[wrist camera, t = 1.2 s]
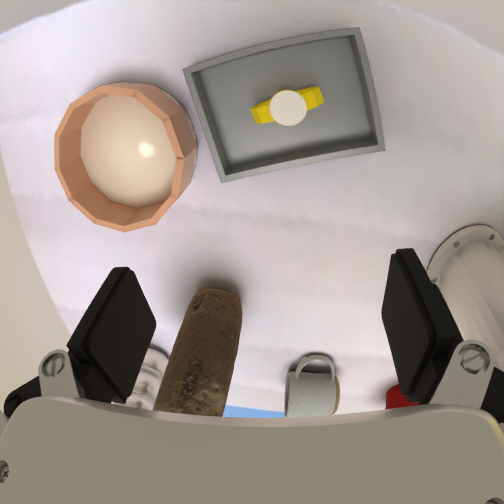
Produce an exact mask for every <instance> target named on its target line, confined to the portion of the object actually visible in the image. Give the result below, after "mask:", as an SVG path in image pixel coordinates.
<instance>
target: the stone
mask: <svg viewBox="0 0 504 504" xmlns="http://www.w3.org/2000/svg"><path fill="white" fill-rule="evenodd" d="M241 324H242V308H241V304H240V300H239V298H238V297H237V295H235V294H233V293H231V292H227V291H224V290H220V289H212V288H206V289H203V290H200V291H199V292H198V293H197V294H196V295H195V296H194V297H193V299H192V301H191V303H190V304H189V307H188V309H187V312H186V314H185V317H184V319H183V322H182V325H181V328H180V330H179V332H178V335H177V338H176V341H175V344H174V346H173V350H172V352H171V355H170V358H169V361H168V364H167V367H166V370H165V373H164V376H163V379H162V382H161V385H160V388H159V391H158V394H157V397H156V401H155V404H154V407H153V411H161V412H170V413H179V414H189V415H201V416H216V417H222V416H223V412H224V408H225V404H226V400H227V395H228V391H229V386H230V383H231V378H232V374H233V370H234V362H235V359H236V356H237V351H238V345H239V337H240V331H241Z"/></svg>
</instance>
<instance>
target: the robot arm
mask: <svg viewBox="0 0 504 504" xmlns="http://www.w3.org/2000/svg"><path fill="white" fill-rule="evenodd" d="M381 313H382V320H383V324H384V327H385V331H386V334H387V338H388V342H389V345H390V349H391V353H392V357H393V361H394V365H395V369H396V373H397V377H398V381H399V386H400V390H401V394H402V395H403V396H404V395H406V397H407V401H408V403H411V402H416V401H418V405H416V406H409V407H400V408H393V409H386V410H379V411H371V412H362V413H351V414H341V415H330V416H315V417H293V418H238V417H216V416H201V415H189V414H179V413H170V412H161V411H153V410H146V409H139V408H133V407H127V406H121V405H116V404H111V402H112V401H113V402H114V403H120V404H126V401H127V398H128V397H130V396H131V394H132V392H133V389H134V386H135V383H136V380H137V377H138V375H139V372H140V369H141V366H142V364H143V361H144V358H145V355H146V353H147V350H148V347H149V345H150V342H151V339H152V337H153V334H154V332H155V329H156V320H155V317H154V315H153V313H152V311H151V309H150V307H149V305H148V302H147V300H146V298H145V296H144V294H143V291H142V289H141V287H140V285H139V282H138V280H137V278H136V275H135V273H134V272H133V271H132V270H130V268H128V267H115V268H113V269H112V270H111V272H110V274H109V275H108V277H107V278H106V280H105V281H104V283H103V284H102V286H101V288H100V289H99V291H98V292H97V294H96V296H95V297H94V299H93V300H92V302H91V304H90V305H89V307H88V309H87V310H86V312H85V314H84V315H83V317H82V319H81V321H80V322H79V324H78V326H77V327H76V329H75V331H74V333H73V335H72V336H71V338H70V340H69V342H68V343H67V345H66V346H67V347H68V348H69V351H68V353H67V352H65V351H64V350H55V351H52V352H50V353H49V354H47V355H46V356H45V357H44V358H43V360H42V361H41V363H40V366H39V376H37V377H36V378H34V379H32V380H31V381H29V382H27V383H26V384H24V385H22V386H21V387H19V388H17V389H16V390H14V391H13V392H11V393H10V394H9V395H8V396H7V398H6V400H5V403H4V412H3V411H2V410H0V504H504V240H503V239H502V237H501V236H500V235H499V234H498V233H497V231H496V230H494V229H492V228H491V227H488V226H485V225H475V226H470V227H467V228H464V229H462V230H460V231H458V232H457V233H455V234H453V235H452V236H451V237H450V238H448V239H447V240H446V241H445V242H444V243H443V244H442V245H441V246H440V247H439V249H438V250H437V252H436V253H435V255H434V256H433V258H432V260H431V262H430V264H429V268H428V271H427V272H426V271H425V269H424V267H423V265H422V263H421V261H420V260H419V258H418V256H417V254H416V253H415V251H414V249H413V248H406V249H397V250H396V253H395V254H392V255H391V259H390V266H389V272H388V278H387V284H386V289H385V295H384V300H383V305H382V312H381ZM452 315H453V316H452ZM453 317H454V318H453Z"/></svg>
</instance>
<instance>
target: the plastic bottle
mask: <svg viewBox="0 0 504 504" xmlns="http://www.w3.org/2000/svg"><path fill="white" fill-rule="evenodd" d="M167 364H168V359H167V357H166V356H165V355H164V354H163V353H161V352H160V351H158V350H156V349H153V348H149V347H148V350H147V353H146V355H145V358H144V361H143V364H142V366H141V369H140V372H139V375H138V377H137V380H136V383H135V386H134V389H133V392H132V394H131V396H130V397H128V398H127V401H126V404H120V403H116V405H121V406H127V407H133V408H139V409H146V410H153V407H154V404H155V401H156V397H157V394H158V391H159V388H160V385H161V382H162V379H163V376H164V373H165V370H166V367H167Z"/></svg>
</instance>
